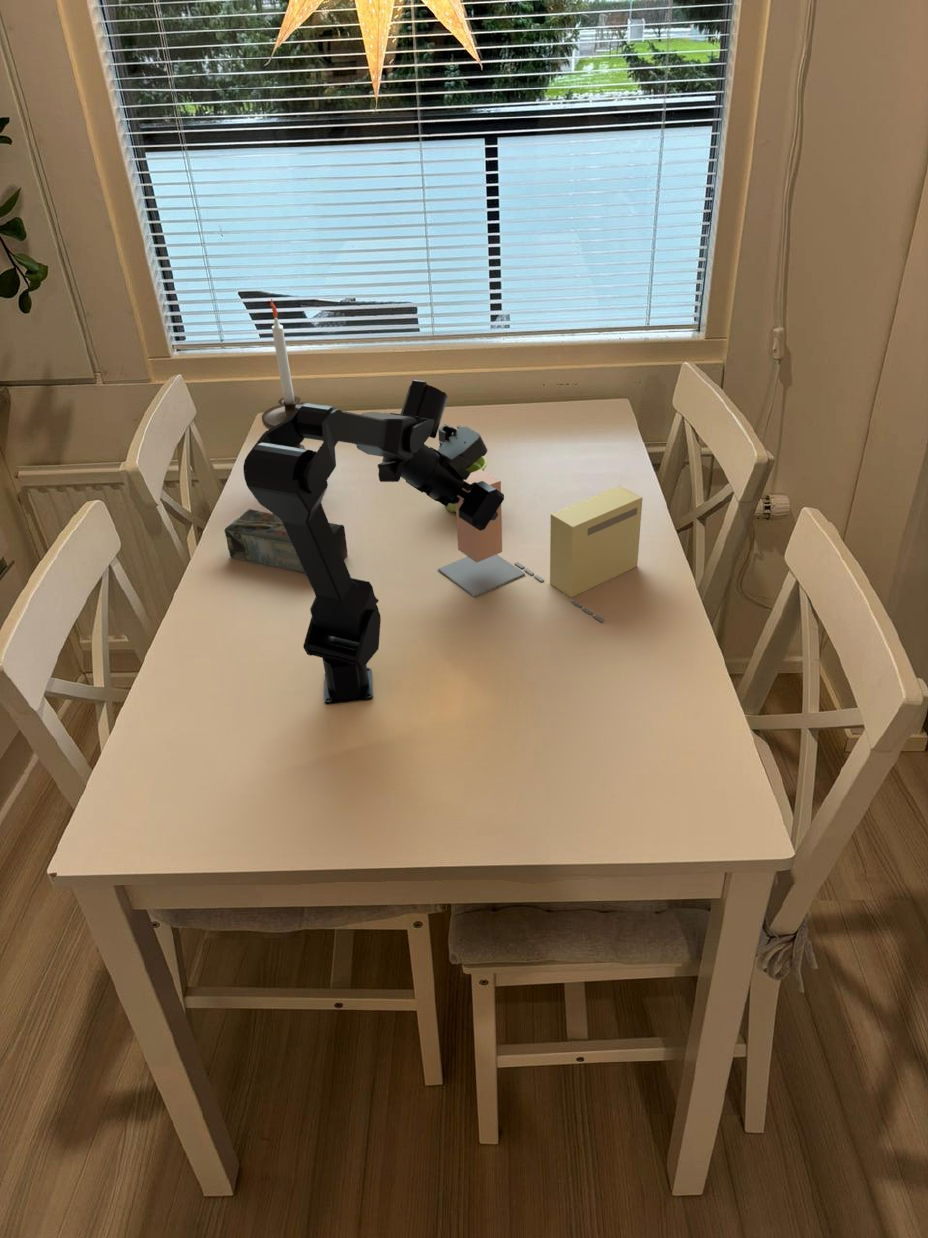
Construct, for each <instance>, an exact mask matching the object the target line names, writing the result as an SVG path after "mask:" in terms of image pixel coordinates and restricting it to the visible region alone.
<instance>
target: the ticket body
mask: <svg viewBox="0 0 928 1238" xmlns="http://www.w3.org/2000/svg"><path fill="white" fill-rule="evenodd" d="M642 508H643V496H641V495H639V494H638V493H635V492H633V491H632V490H629V488H626V487H624V486H622V485H618V486H614V487H613V488H610V489H608V490H606V491H603V492H601V493H598V494H596V495H594V496H591V497H589V498H586V499H584V500H581V501H579V502H576V503H574V504H572V505H570V506H567V507H565V508H562V509H560V510H558V511H557V510H556V511H554V512H553V513H550V532H549V533H550V534H549V535H550V536H549V537H550V541H549V544H550V546H549V547H550V550H549V555H550V556H549V557H550V558H549V584H550V585H551V586H553V587H554V588H556V589H557V590H559V591H560V592H562V593H563V594H565V595H566V596H568V597H569V598H573V597H575V596H577V595H579V594H582V593H584V592H586V591H587V590H590V589H592V588H594V587H596V586H599V585H601V584H602V583H605V582H607V581H609V580H612V579H613V578H616V577H618V576H620V575H622V574H624V573H626V572H628V571H630V570H632V569H634V568H637V567H638V561H639V552H640V551H639V549H640V534H641V521H642V511H643V509H642Z"/></svg>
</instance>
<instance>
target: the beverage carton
mask: <svg viewBox="0 0 928 1238" xmlns="http://www.w3.org/2000/svg"><path fill="white" fill-rule="evenodd" d="M329 524H330V527H331V529H332V532H333V534H334V537H335V539H336V542H337V544H338V547H339V549H340V552H341V554H342V557H343V559H344V560H345V559H346V558H347V557H348V556H349V554H348V545H347V537H346V530H345V526H344V525H343V524H337V523H332V522H329ZM224 534H225V538H226V544H227V549H228V553H229V558H231V559H235V560H239V561H245V562H248V563H252V564H259V565H263V566H264V565H265V566H268V567H273V568H278V569H284V570H290V571H294V572H300V573H303V574H304V573H305V571H304V568H303V566H302V564H301V562H300V560H299V557H298V555H297V553H296V551H295V549H294V547H293V544H292V542H291V540H290V538H289V536H288V534H287V531H286V529H285V527H284V525H283V523H282V521H281V519H280V518H279V517H277V516H276V515H274V514H273V513H272V512H266V511H261V510H255V509H250V508H249V509H248V510H246V511H245V512H244V513H243V514H242V515H240V516H239V517H238V518H236V519H234V520H233V521H232V522H231V523H230V524H229V525H227V526H226V527H225V528H224ZM305 574H306V573H305Z"/></svg>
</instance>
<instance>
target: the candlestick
mask: <svg viewBox="0 0 928 1238" xmlns="http://www.w3.org/2000/svg"><path fill="white" fill-rule="evenodd" d="M269 305H270V307H271V308H272V309H271V311H272V315H273V318H274V320H273V321H274V323H273V325H272V326H271V330H272V337H273V343H274V349H275V353H276V360H277V368H278V371H279V372H278V373H279V379H280V385H281V390H282V396H283V397H282V398H280V399H279V400H278V402H277V403H279V404H278V405H275V406H272V407H270V408H268V409H266V410H265V411H264V412H263V413H262V414H261V422H262V425H263V427H264V428H265V429H267V430H269V429H271V428H273V427H274V426H276V425H278V424H279V423H281V422H283V421H284V420H286V419H288V418H289V417H290V416H291V415H292V413H293V412H294V411H295V409H296V408H297V407H298V406H299V405H304V404H305V403H306V402H303V401H301V398H300V397H299V396H295V395H294V393H295V392H294V388H293V382H292V375H291V369H290V363H289V357H288V352H287V351H288V350H287V343H286V339H285V333H284V332H285V331H284V325H282V324H280V322H279V319H278V318H277V317H278V310H277V307H276V306H275V305H276V304H274V302H273V299H272V298H271V299H270V303H269ZM294 448H301V449H306V447H305V446H304V445H303V444H301V443H300V444H298V445H297V446H295V447H294Z"/></svg>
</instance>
